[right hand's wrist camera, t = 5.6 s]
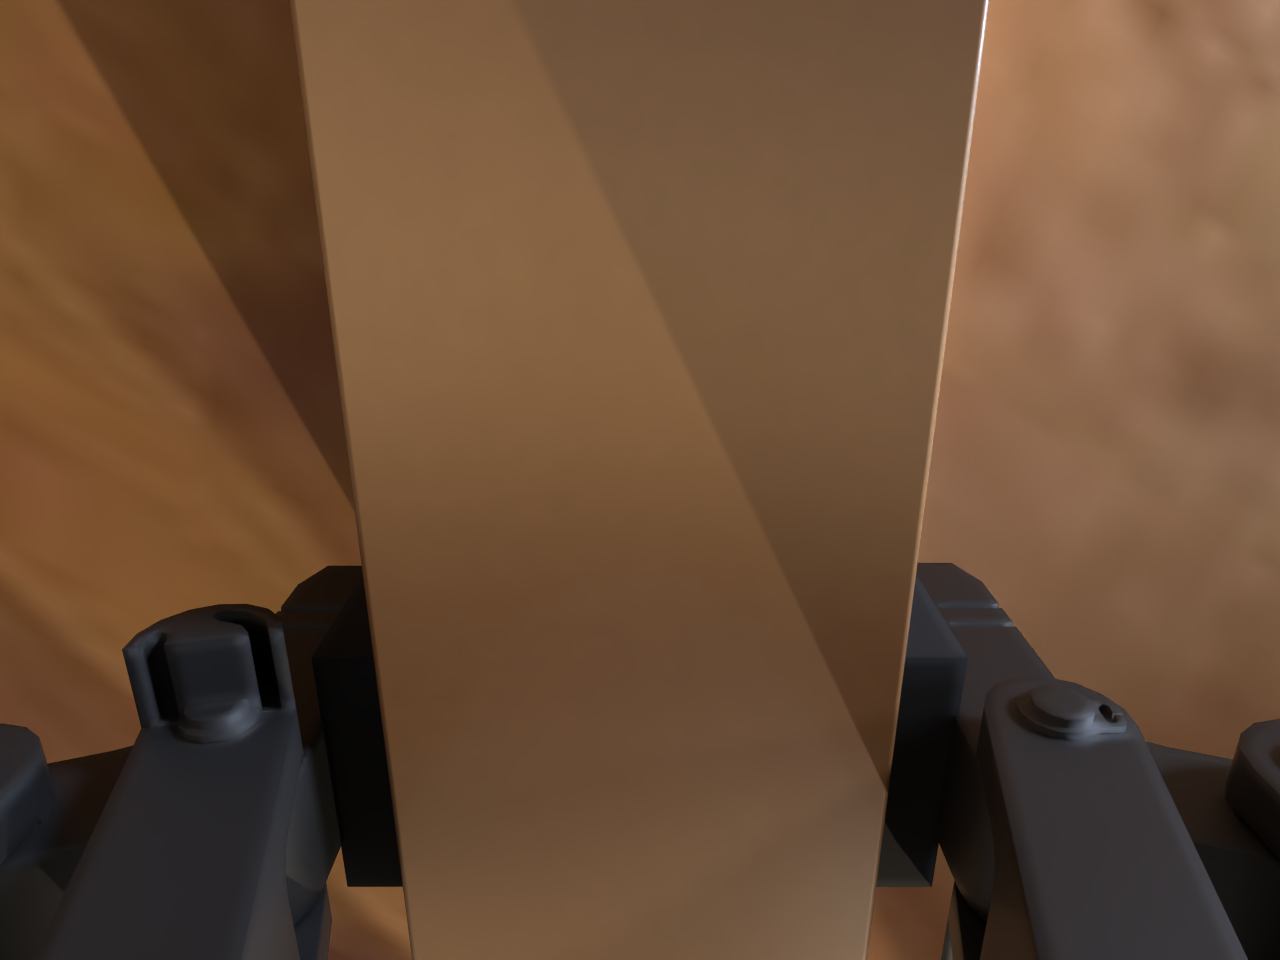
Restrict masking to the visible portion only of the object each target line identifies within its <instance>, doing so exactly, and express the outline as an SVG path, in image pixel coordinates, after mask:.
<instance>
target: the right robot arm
mask: <svg viewBox="0 0 1280 960" xmlns="http://www.w3.org/2000/svg"><path fill="white" fill-rule="evenodd" d="M122 651H123V655H124V659H125V663H126V667H127V671H128V675H129V679H130V683H131V687H132V691H133V695H134V699H135V703H136V707H137V711H138V715H139V719H140V723H141V727H142V729H141V731H140V733H139V735H138V737H137V739H136V741H135V743H134V746H130V747H126V748H122V749H118V750H114V751H110V752H105V753H100V754H95V755H90V756H84V757H79V758H74V759H69V760H64V761H59V762H54V763H49V764H47V761H46V758H45V755H44V751H43V748H42V745H41V741H40V738H39V737H38V736H37V735H36V734H34V733H33V732H32V731H30V730H29V729H28V728H26V727H22V726H15V725H9V724H0V960H327V959H328V950H329V941H330V933H331V924H332V917H331V911H330V904H329V898H328V892H327V886H326V880H327V878H328V875H329V873H330V871H331V868H332V866H333V864H334V861H335V859H336V856H337V854H338V852H339V849H340V847H341V848H342V854H343V861H344V867H345V873H346V880H347V886H348V887H403V883H402V875H401V867H400V859H399V852H398V844H397V836H396V828H395V820H394V813H393V805H392V797H391V789H390V781H389V774H388V766H387V758H386V750H385V742H384V735H383V727H382V719H381V711H380V703H379V696H378V688H377V680H376V672H375V665H374V657H373V649H372V641H371V633H370V626H369V618H368V610H367V602H366V594H365V587H364V579H363V571H362V566H327V567H326V568H324V569H322V570H321V571H319V572H318V573H316V574H314V575H313V576H311V577H310V578H308V579H306V580H305V581H303V582H302V583H300V584H298V585H297V587H296V588H295V589H294V591H293V592H292V593H291V595H290V596H289V597H288V599H287V600H286V601H285V603H284V604H283V605H282V607H281V611H278V612H277V613H276V614H275V613H273V612H272V611H271V610H269V609H267V608H263V607H258V606H254V605H249V604H219V605H213V606H208V607H203V608H197V609H192V610H188V611H185V612H182V613H179V614H177V615H174V616H171V617H168V618H165V619H162V620H160V621H158V622H157V623H155V624H153V625H151V626H150V627H148V628H146V629H145V630H143V631H141V632H139V633H138V634H136V635H135V637H134V638H133V639H132V640H131V641H130V642H129V643H128V644H127V645H126V646H125V647H124V648H123V649H122ZM938 844H940V846H941V849H942V851H943V854H944V856H945V858H946V861H947V863H948V865H949V868H950V870H951V873H952V875H953V877H954V886H953V892H952V898H951V904H950V910H949V916H948V922H947V927H946V933H945V939H944V945H943V951H942V957H941V960H1280V720H1279V719H1278V720H1271V721H1265V722H1258V723H1254V724H1252V725H1251V726H1250V727H1249V728H1247V729H1246V730H1245V731H1243V732H1242V733H1241V735H1240V739H1239V742H1238V745H1237V749H1236V752H1235V755H1234V759H1233V760H1231V759H1226V758H1220V757H1215V756H1210V755H1205V754H1200V753H1195V752H1190V751H1185V750H1180V749H1174V748H1169V747H1165V746H1161V745H1157V744H1153V743H1149V742H1145V740H1144V738H1143V736H1142V733H1141V731H1140V729H1139V727H1138V726H1137V725H1136V723H1135V722H1134V721H1133V720H1132V718H1131V717H1130V716H1129V714H1128V713H1127V712H1126V711H1125V710H1124V709H1123V708H1121V707H1120V706H1118V705H1117V704H1116V703H1114V702H1113V701H1111V700H1110V699H1108V698H1107V697H1105V696H1104V695H1102V694H1100V693H1097V692H1095V691H1093V690H1090V689H1088V688H1085V687H1083V686H1081V685H1078V684H1076V683H1072V682H1067V681H1063V680H1058V679H1055V678H1054V676H1053V675H1052V674H1051V672H1050V671H1049V670H1048V668H1047V667H1046V666H1045V664H1044V663H1043V662H1042V660H1041V659H1040V658H1039V657H1038V655H1037V654H1036V653H1035V651H1034V650H1033V649H1032V647H1031V646H1030V645H1029V643H1028V642H1027V641H1026V639H1025V638H1024V637H1023V635H1022V634H1021V633H1020V631H1019V630H1018V629H1017V628H1016V627H1013V626H1012V621H1011V620H1010V618H1009V617H1008V616H1007V614H1006V613H1005V612H1004V610H1003V609H1002V608H999V607H998V603H997V601H996V600H995V599H994V597H993V596H992V595H991V593H990V592H989V591H988V589H987V588H986V587H985V585H984V584H983V583H982V582H981V581H980V580H978V579H976V578H975V577H973V576H972V575H970V574H968V573H967V572H965V571H964V570H962V569H960V568H959V567H957V566H956V565H954V564H952V563H917V570H916V578H915V586H914V594H913V602H912V610H911V617H910V625H909V633H908V641H907V649H906V657H905V664H904V672H903V680H902V688H901V696H900V704H899V711H898V719H897V727H896V735H895V743H894V751H893V759H892V766H891V774H890V782H889V790H888V798H887V806H886V813H885V821H884V829H883V837H882V845H881V853H880V860H879V868H878V876H877V884H876V887H932V882H933V875H934V869H935V863H936V856H937V850H938Z"/></svg>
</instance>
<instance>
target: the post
mask: <svg viewBox="0 0 1280 960" xmlns="http://www.w3.org/2000/svg"><path fill="white" fill-rule="evenodd" d="M289 2H290V10H291V17H292V25H293V33H294V41H295V49H296V56H297V64H298V72H299V80H300V87H301V95H302V103H303V111H304V119H305V126H306V134H307V142H308V150H309V158H310V165H311V173H312V181H313V189H314V197H315V204H316V212H317V220H318V228H319V236H320V243H321V251H322V259H323V267H324V275H325V282H326V290H327V298H328V306H329V314H330V321H331V329H332V337H333V345H334V353H335V360H336V368H337V376H338V384H339V392H340V399H341V407H342V415H343V423H344V431H345V438H346V446H347V454H348V462H349V470H350V477H351V485H352V493H353V501H354V509H355V516H356V524H357V532H358V540H359V548H360V555H361V563H362V571H363V579H364V587H365V594H366V602H367V610H368V618H369V626H370V633H371V641H372V649H373V657H374V665H375V672H376V680H377V688H378V696H379V703H380V711H381V719H382V727H383V735H384V742H385V750H386V758H387V766H388V774H389V781H390V789H391V797H392V805H393V813H394V820H395V828H396V836H397V844H398V852H399V859H400V867H401V875H402V883H403V891H404V898H405V906H406V914H407V922H408V930H409V937H410V945H411V953H412V960H867V954H868V947H869V939H870V931H871V923H872V915H873V907H874V900H875V892H876V884H877V876H878V868H879V860H880V853H881V845H882V837H883V829H884V821H885V813H886V806H887V798H888V790H889V782H890V774H891V766H892V759H893V751H894V743H895V735H896V727H897V719H898V711H899V704H900V696H901V688H902V680H903V672H904V664H905V657H906V649H907V641H908V633H909V625H910V617H911V610H912V602H913V594H914V586H915V578H916V570H917V563H918V555H919V547H920V539H921V531H922V523H923V516H924V508H925V500H926V492H927V484H928V476H929V468H930V461H931V453H932V445H933V437H934V429H935V421H936V414H937V406H938V398H939V390H940V382H941V374H942V367H943V359H944V351H945V343H946V335H947V327H948V320H949V312H950V304H951V296H952V288H953V280H954V273H955V265H956V257H957V249H958V241H959V233H960V225H961V218H962V210H963V202H964V194H965V186H966V178H967V171H968V163H969V155H970V147H971V139H972V131H973V124H974V116H975V108H976V100H977V92H978V84H979V77H980V69H981V61H982V53H983V45H984V37H985V30H986V22H987V14H988V6H989V0H289Z"/></svg>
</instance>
